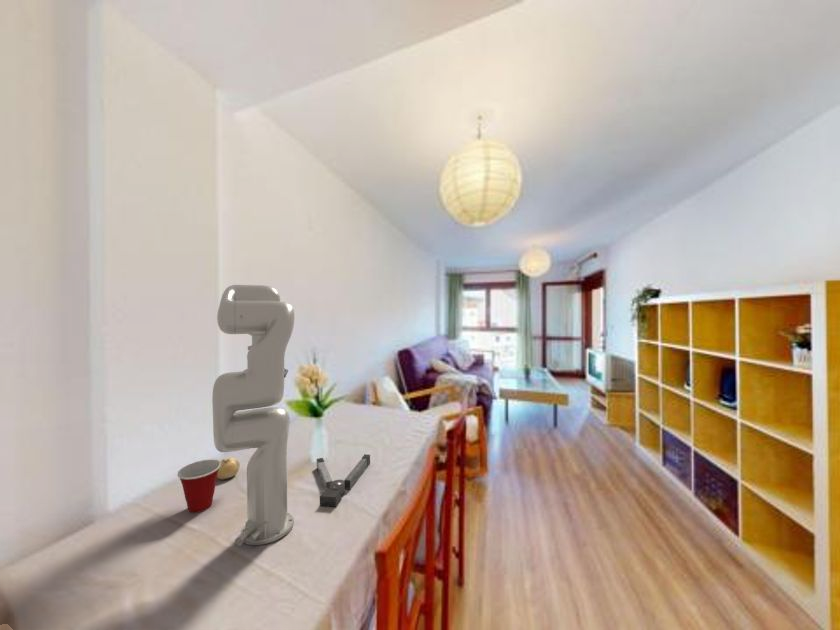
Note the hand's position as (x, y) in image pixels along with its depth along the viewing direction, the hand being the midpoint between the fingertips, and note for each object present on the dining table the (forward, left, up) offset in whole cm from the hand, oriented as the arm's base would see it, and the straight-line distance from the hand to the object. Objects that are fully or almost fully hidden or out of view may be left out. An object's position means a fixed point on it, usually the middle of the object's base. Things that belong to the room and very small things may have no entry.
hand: (263, 394), depth 123 cm
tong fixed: (-6, -35, -28) cm, 45 cm away
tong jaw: (-6, -29, -28) cm, 40 cm away
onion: (-7, +10, -28) cm, 31 cm away
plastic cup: (-26, +3, -28) cm, 38 cm away
